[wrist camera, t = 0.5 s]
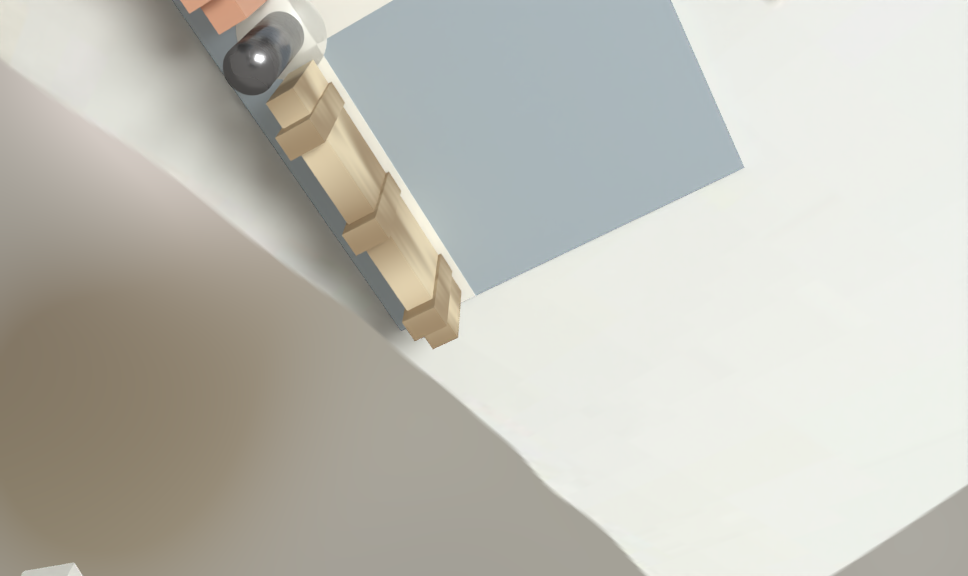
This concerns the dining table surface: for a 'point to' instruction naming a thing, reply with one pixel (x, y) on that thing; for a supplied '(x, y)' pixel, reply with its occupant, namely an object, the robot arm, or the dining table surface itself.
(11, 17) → the dining table surface
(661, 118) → the card
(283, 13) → the hinge post
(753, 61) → the dining table surface
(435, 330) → the fixed panel
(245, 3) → the swing panel
